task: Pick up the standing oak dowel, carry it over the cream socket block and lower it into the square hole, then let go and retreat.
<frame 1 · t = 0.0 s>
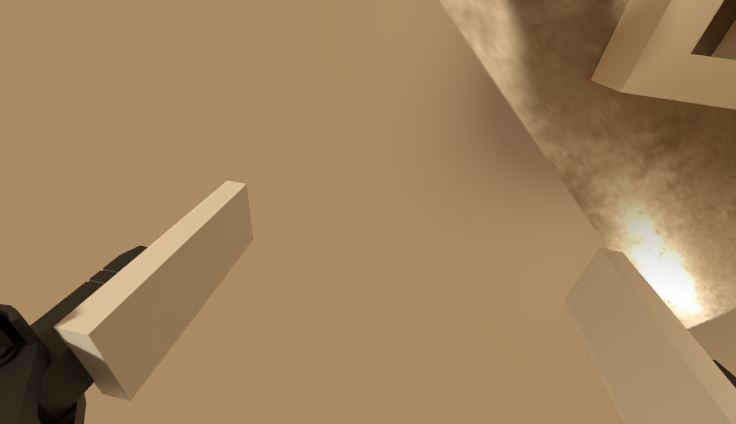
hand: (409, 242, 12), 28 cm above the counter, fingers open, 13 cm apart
socket block: (700, 15, 28), on the counter
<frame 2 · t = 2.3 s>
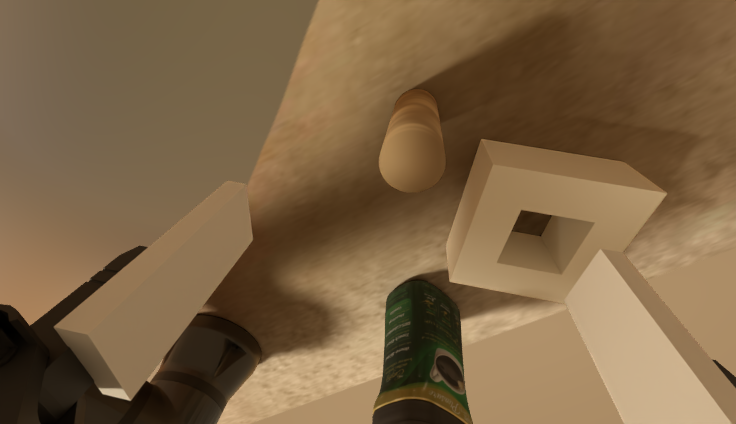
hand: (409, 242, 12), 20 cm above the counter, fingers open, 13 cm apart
dowel: (415, 111, 28), on the counter
coffee jar: (422, 302, 42), on the counter
socket block: (523, 208, 32), on the counter
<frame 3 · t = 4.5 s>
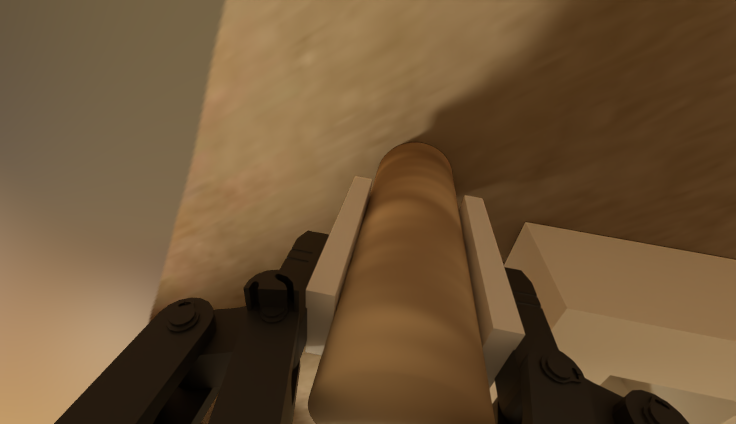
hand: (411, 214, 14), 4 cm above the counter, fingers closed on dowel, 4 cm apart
dowel: (413, 178, 17), on the counter, touching gripper
socket block: (586, 319, 20), on the counter
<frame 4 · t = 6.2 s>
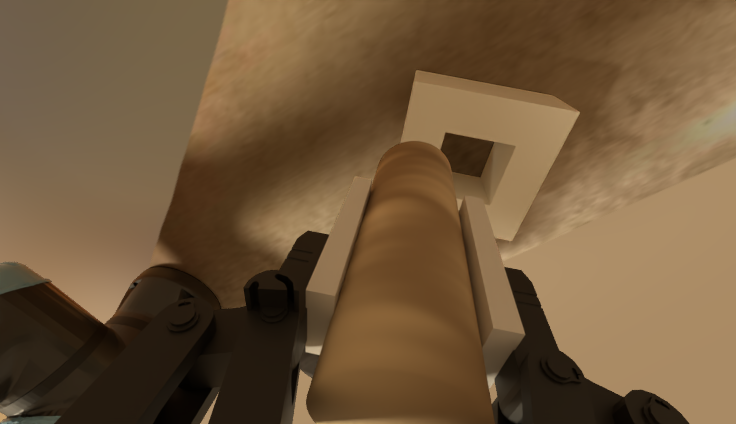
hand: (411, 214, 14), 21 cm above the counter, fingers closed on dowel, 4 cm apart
dowel: (413, 176, 17), point 17 cm above the counter, touching gripper
coffee jar: (373, 251, 42), on the counter
socket block: (462, 146, 33), on the counter
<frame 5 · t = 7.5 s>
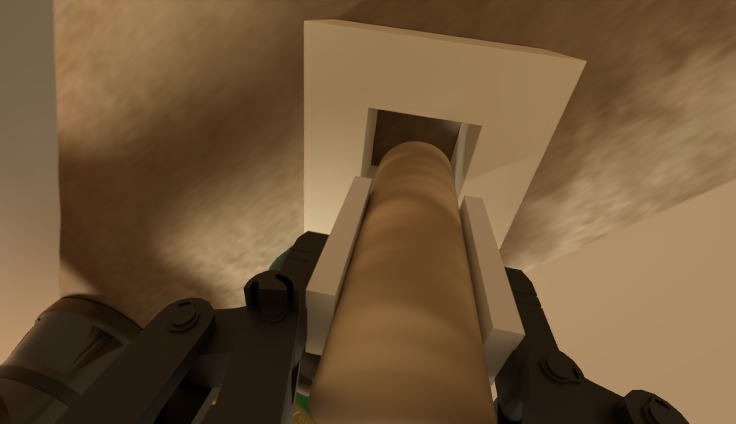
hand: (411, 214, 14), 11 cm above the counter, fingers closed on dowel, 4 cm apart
dowel: (414, 177, 17), point 7 cm above the counter, touching gripper
coffee jar: (318, 277, 33), on the counter
socket block: (415, 134, 23), on the counter
when the fingers open (8 cm above the counter, at t = 8.4 s): dowel drops 4 cm, resting in socket block.
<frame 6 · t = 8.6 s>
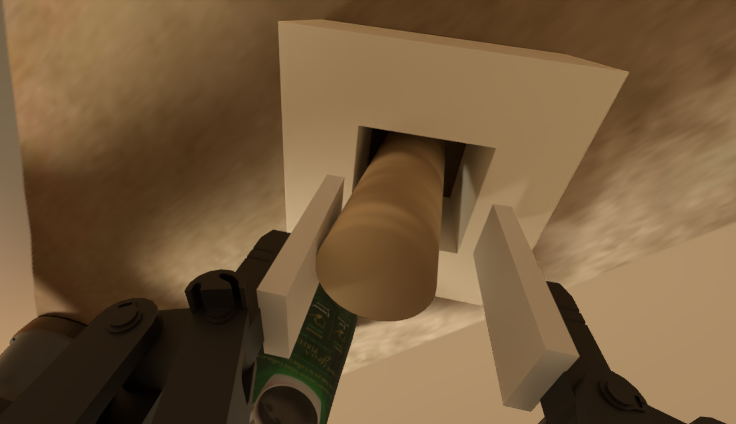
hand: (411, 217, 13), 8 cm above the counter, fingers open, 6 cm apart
dowel: (413, 150, 20), resting in socket block, touching gripper
coffee jar: (309, 300, 30), on the counter
socket block: (415, 150, 20), on the counter
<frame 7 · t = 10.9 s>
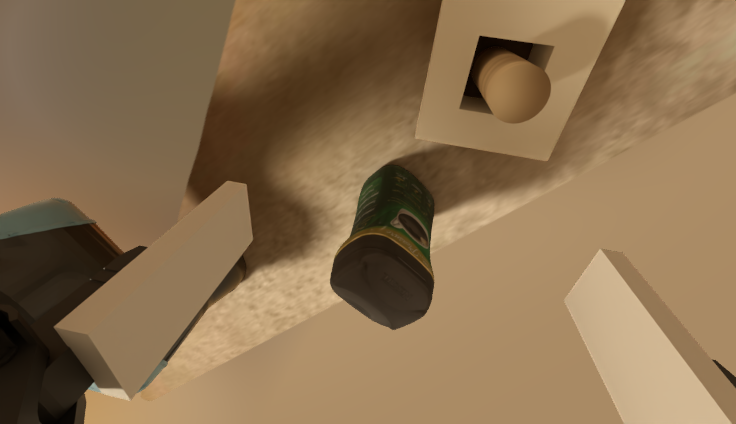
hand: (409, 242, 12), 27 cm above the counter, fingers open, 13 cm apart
dowel: (491, 68, 31), resting in socket block
coffee jar: (398, 195, 42), on the counter
socket block: (492, 68, 31), on the counter
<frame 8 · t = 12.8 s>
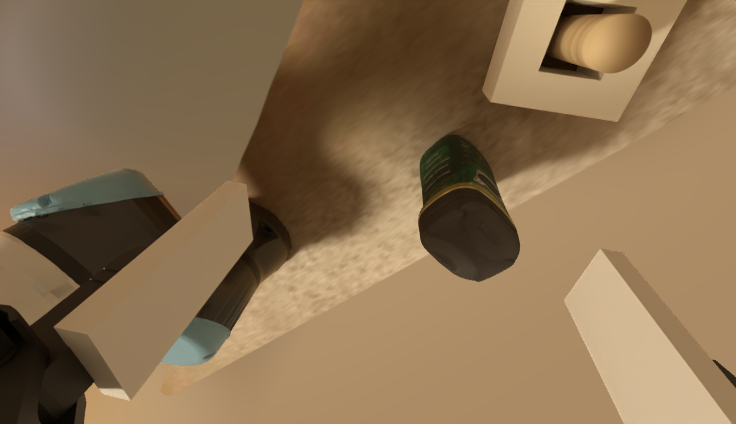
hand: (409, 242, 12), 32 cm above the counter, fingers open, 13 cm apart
dowel: (559, 37, 33), resting in socket block
coffee jar: (454, 167, 43), on the counter
socket block: (560, 37, 33), on the counter
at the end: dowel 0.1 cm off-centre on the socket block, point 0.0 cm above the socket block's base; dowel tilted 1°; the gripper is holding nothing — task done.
